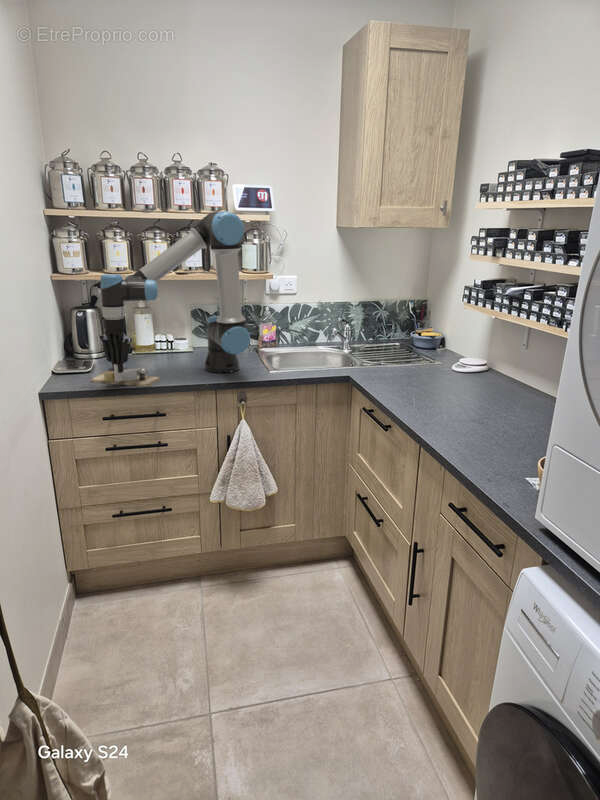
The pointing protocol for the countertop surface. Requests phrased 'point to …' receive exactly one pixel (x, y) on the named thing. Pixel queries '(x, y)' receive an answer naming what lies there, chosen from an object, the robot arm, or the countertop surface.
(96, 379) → the keeper plate
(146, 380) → the jamb plate
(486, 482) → the countertop surface
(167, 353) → the countertop surface
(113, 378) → the swing bar
